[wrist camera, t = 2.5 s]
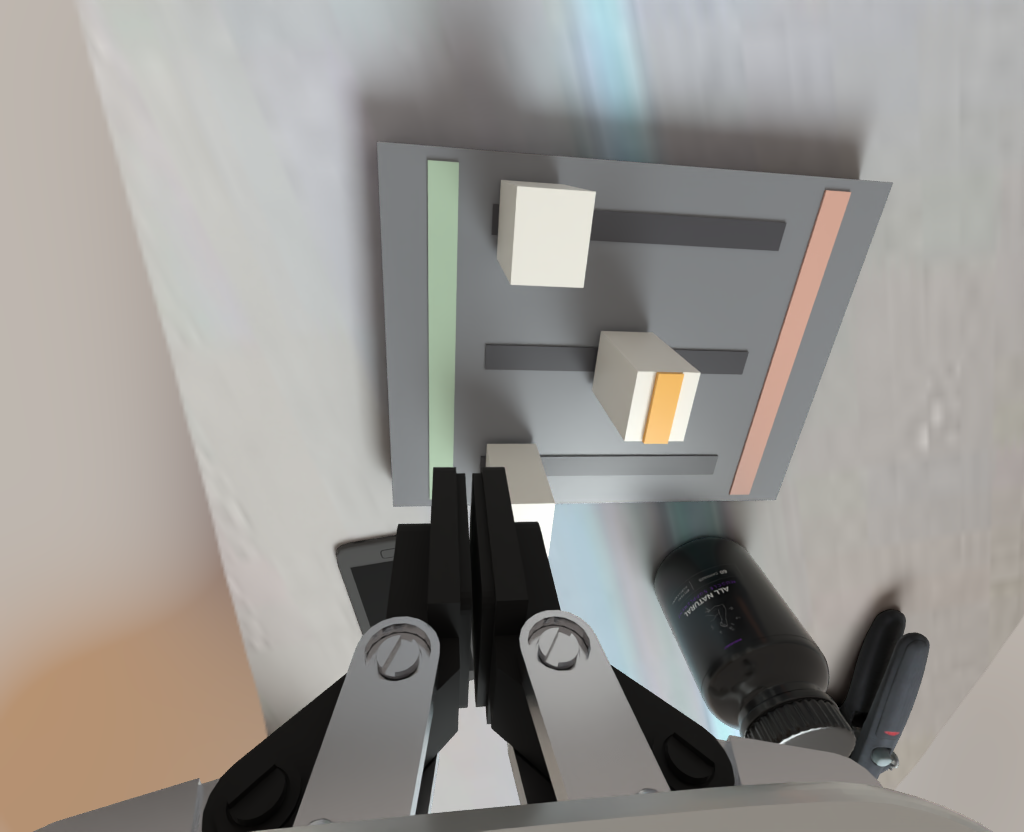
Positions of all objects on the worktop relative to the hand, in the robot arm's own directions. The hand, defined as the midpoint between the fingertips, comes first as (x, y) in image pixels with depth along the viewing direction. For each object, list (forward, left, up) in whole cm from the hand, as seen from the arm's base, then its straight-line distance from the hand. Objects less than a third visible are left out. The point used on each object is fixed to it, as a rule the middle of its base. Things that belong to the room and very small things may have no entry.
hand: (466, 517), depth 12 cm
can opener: (-30, -34, -15) cm, 47 cm away
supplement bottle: (-17, -17, -15) cm, 28 cm away
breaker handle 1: (+5, -3, -12) cm, 14 cm away
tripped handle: (-1, -8, -12) cm, 15 cm away
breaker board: (-1, -8, -15) cm, 16 cm away
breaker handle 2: (-7, -3, -12) cm, 14 cm away
